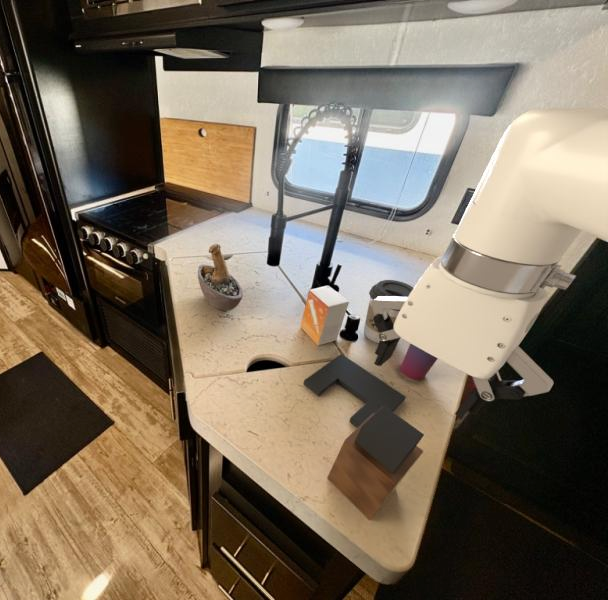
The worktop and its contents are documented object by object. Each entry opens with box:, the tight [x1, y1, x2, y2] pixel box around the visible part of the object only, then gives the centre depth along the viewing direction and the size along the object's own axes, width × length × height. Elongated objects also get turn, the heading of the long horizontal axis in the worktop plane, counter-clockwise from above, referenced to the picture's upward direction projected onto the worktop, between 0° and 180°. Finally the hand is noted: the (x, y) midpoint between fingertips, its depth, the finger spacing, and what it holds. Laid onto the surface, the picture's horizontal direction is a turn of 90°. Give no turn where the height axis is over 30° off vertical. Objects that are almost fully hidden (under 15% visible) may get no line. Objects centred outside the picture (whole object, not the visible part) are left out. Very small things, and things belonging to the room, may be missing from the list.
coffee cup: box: [363, 279, 414, 344], centre depth 81 cm, size 11×11×15 cm
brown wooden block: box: [326, 413, 424, 521], centre depth 50 cm, size 8×8×12 cm
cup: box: [399, 343, 439, 381], centre depth 70 cm, size 7×7×15 cm
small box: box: [300, 285, 350, 346], centre depth 82 cm, size 8×6×13 cm
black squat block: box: [355, 406, 425, 474], centre depth 46 cm, size 6×6×4 cm
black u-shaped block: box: [303, 353, 407, 429], centre depth 69 cm, size 16×14×2 cm
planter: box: [197, 243, 244, 312], centre depth 91 cm, size 15×17×20 cm
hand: (419, 384), depth 39 cm, fingers open, 9 cm apart
